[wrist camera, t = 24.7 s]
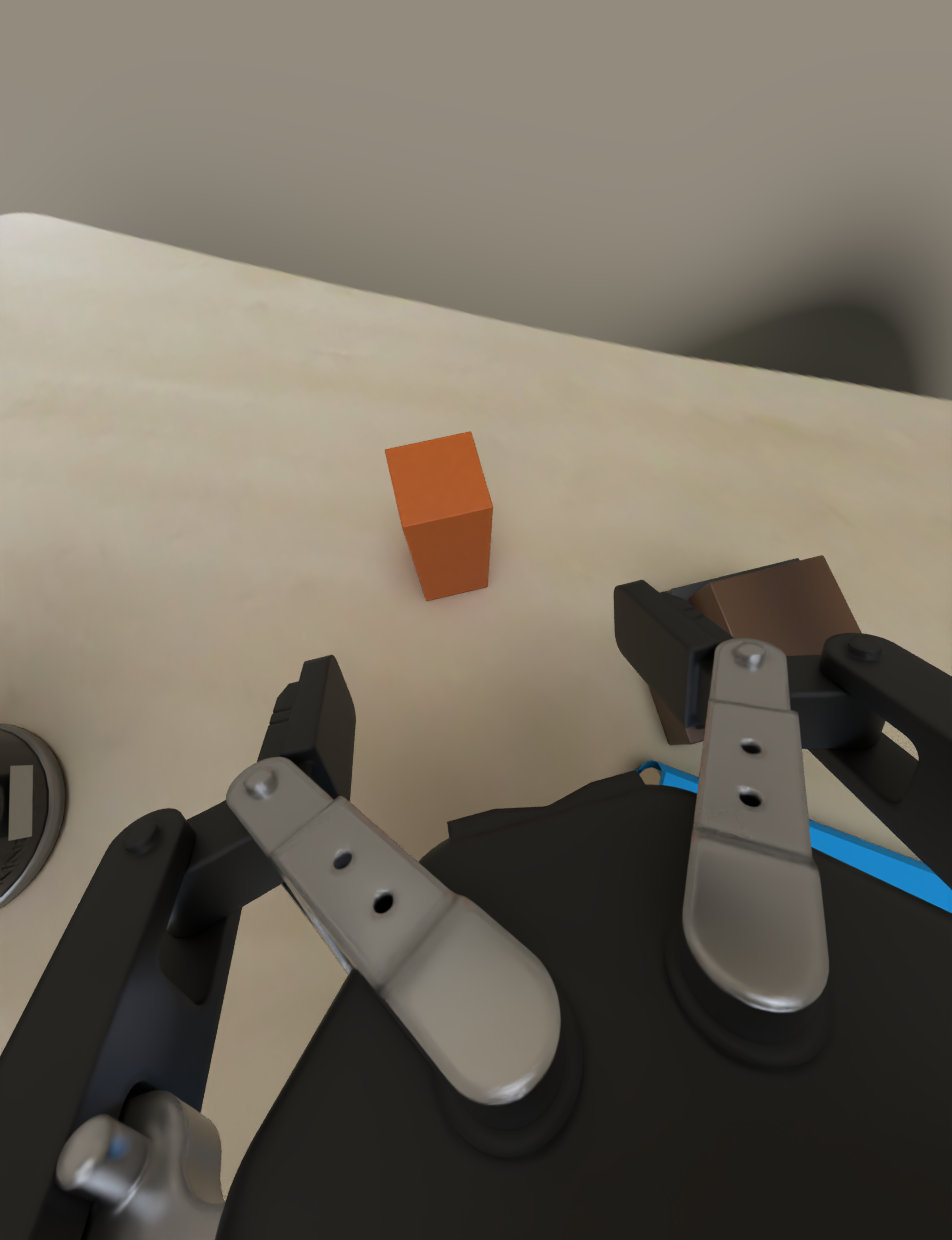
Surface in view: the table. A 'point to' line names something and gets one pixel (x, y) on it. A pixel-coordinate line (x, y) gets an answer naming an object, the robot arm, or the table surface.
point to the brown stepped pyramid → (767, 615)
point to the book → (839, 846)
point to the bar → (444, 512)
